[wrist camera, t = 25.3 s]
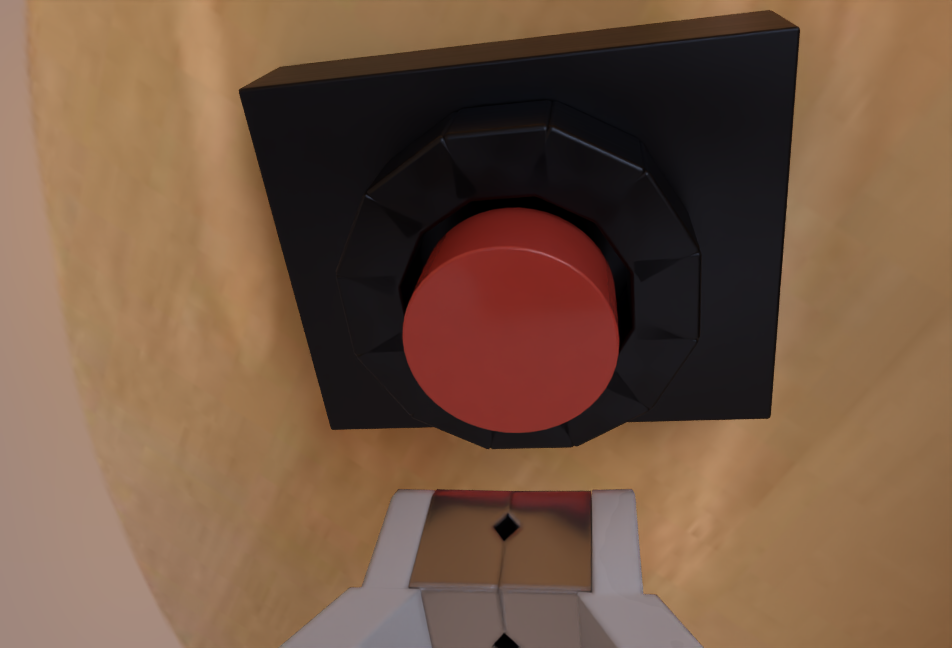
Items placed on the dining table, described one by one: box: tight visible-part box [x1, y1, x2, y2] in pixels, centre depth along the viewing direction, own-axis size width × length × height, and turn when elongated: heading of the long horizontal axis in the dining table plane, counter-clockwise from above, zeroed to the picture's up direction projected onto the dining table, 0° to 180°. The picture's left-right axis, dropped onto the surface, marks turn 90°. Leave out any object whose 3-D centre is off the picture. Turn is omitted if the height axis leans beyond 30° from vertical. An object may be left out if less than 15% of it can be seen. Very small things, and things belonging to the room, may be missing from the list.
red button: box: [402, 207, 619, 433], centre depth 13 cm, size 4×4×2 cm
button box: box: [239, 10, 800, 449], centre depth 15 cm, size 10×8×4 cm
